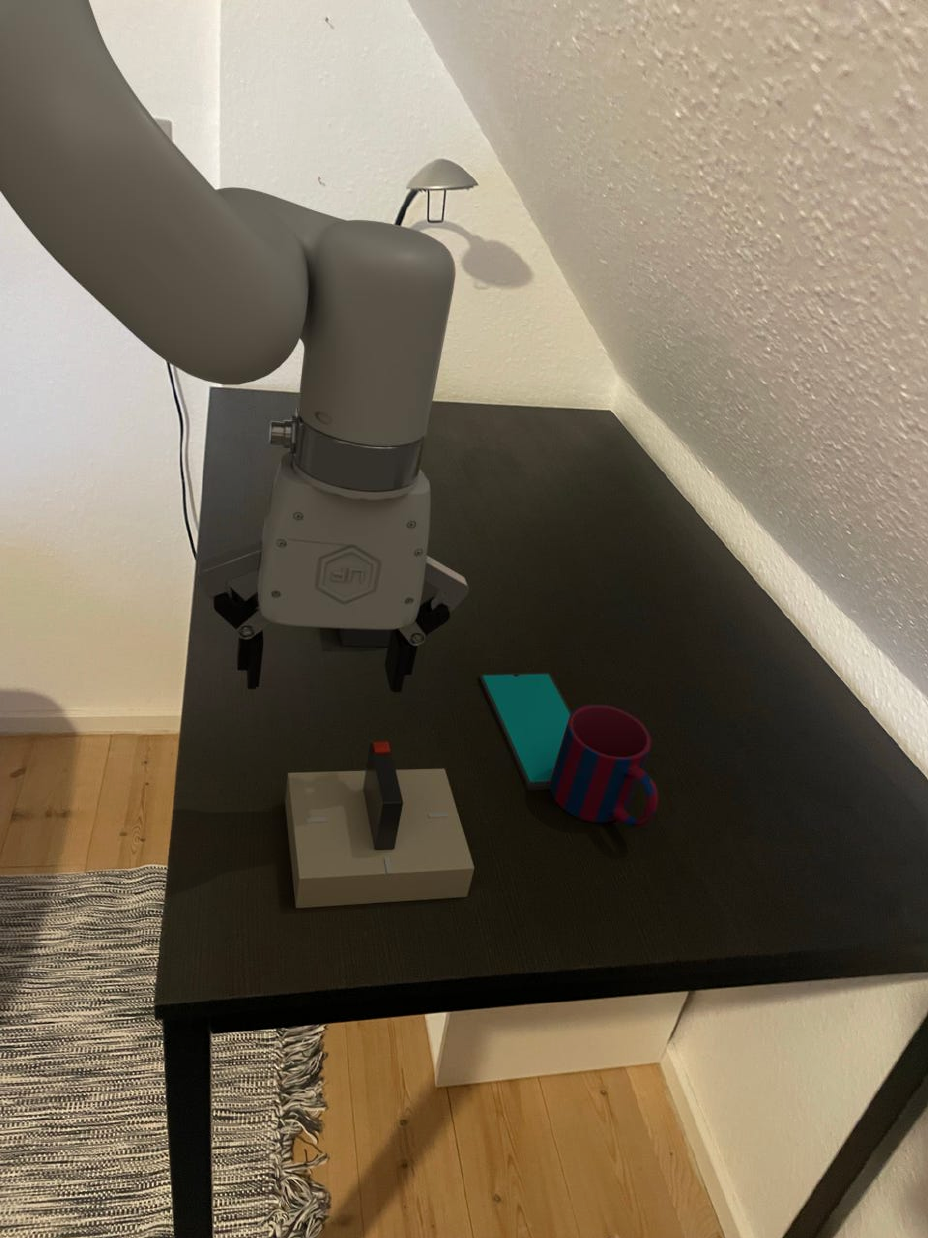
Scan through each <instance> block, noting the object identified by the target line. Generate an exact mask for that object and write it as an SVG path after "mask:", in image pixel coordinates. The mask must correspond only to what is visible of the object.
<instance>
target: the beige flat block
mask: <svg viewBox="0 0 928 1238" xmlns="http://www.w3.org/2000/svg"><path fill="white" fill-rule="evenodd" d="M365 773H366V770H344V771H343V770H342V771H341V770H340V771H309V772H308V771H307V772H305V771H304V772H303V771H302V772H288V773H287V777H286V787H285V799H284V805H285V812H286V813H285V814H286V815H285V817H286V824H287V834H288V845H289V856H290V864H291V874H292V875H291V876H292V882H293V883H292V886H293V892H294V893H293V895H294V905H295V909H306V908H308V909H309V908H321V907H335V906H336V907H338V906H351V905H366V904H367V905H368V904H382V903H395V902H397V903H398V902H409V901H410V902H411V901H425V900H427V901H428V900H440V899H441V900H442V899H453V898H455V899H456V898H457V899H458V898H467V897H468V894H469V891H470V887H471V883H472V880H473V875H474V872H475V866H474V862H473V858H472V855H471V852H470V849H469V845H468V842H467V839H466V836H465V833H464V829H463V825H462V823H461V818H460V816H459V812H458V809H457V806H456V802H455V799H454V795H453V791H452V789H451V786H450V781H449V779H448V776H447V772H446V768H413V769H396V773H397V777H398V782H399V786H400V790H401V795H402V799H403V807H402V812H401V817H400V823H399V828H398V833H397V838H396V844H395V849H390V850H375V849H374V844H373V839H372V833H371V828H370V823H369V818H368V812H367V807H366V802H365V796H364V791H363V786H364V780H365Z"/></svg>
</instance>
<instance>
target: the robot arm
mask: <svg viewBox="0 0 928 1238" xmlns="http://www.w3.org/2000/svg"><path fill="white" fill-rule="evenodd" d="M0 193H1V194H2V196H3V197H4V199H5V200H6V201H7V204H9V206H10V207H11V208H12V210H13V211H14V212H15V214H16V215H17V216H18V218H19V219H20V220H21V222H22V224H24V226H25V227H26V228H27V229H28V230H29V232H30V233H31V234H32V235H33V237H34V238H35V239H36V240H37V241H38V242H39V244H40V245H41V246H42V247H43V248H44V249H45V250H46V251H47V253H48V254H49V255H50V256H51V257H52V258H53V259H54V260H55V262H57V263H58V264H59V266H61V267H62V268H63V269H64V270H65V271H66V272H67V274H68V275H69V276H71V277H72V279H74V280H75V281H76V282H77V284H79V285H80V286H81V287H82V288H83V289H84V290H85V291H86V292H88V293H89V294H90V296H92V297H93V298H94V299H95V300H96V301H97V302H98V303H99V304H100V305H101V306H102V307H104V308H105V309H106V310H107V311H108V312H109V313H110V314H111V315H112V316H113V317H115V319H117V321H119V322H120V323H121V324H122V325H123V326H124V327H125V328H126V329H127V330H128V331H130V333H131V334H132V335H134V336H135V337H136V338H137V339H138V340H140V341H141V342H142V343H143V344H144V345H145V346H146V347H147V348H149V349H150V350H151V351H152V352H154V353H155V354H156V355H158V356H159V357H160V358H161V359H163V360H164V361H165V362H167V363H168V364H169V365H172V366H173V367H175V368H177V369H178V370H180V371H182V372H183V373H185V374H187V375H189V376H191V377H193V378H197V379H199V380H202V381H204V382H208V383H212V384H213V383H214V384H218V385H223V386H230V385H232V386H233V385H234V386H235V385H236V386H238V385H244V384H249V383H253V382H257V381H259V380H261V379H263V378H266V377H267V376H269V375H271V374H272V373H274V372H275V371H276V370H277V369H279V368H280V367H281V366H282V365H283V364H284V363H285V362H286V361H287V360H288V359H289V357H290V356H291V355H292V353H294V351H295V348H296V347H297V345H298V344H299V341H301V342H302V344H303V357H302V366H301V375H300V384H299V393H298V402H297V405H295V413H294V414H291V415H290V419H283V421H277V420H276V421H275V420H270V422H269V429H268V430H269V431H268V444H269V445H273V446H281V448H284V449H288V451H287V452H286V453H284V455H283V456H282V457H281V459H280V462H279V464H278V467H277V471H276V473H275V477H274V481H273V483H272V486H271V491H270V493H269V498H268V501H267V506H266V512H265V517H264V521H263V528H262V533H261V537H260V538H261V540H258V541H256V542H252V543H249V544H247V545H244V546H242V547H239V548H236V549H232V550H230V551H227V552H225V553H222V554H219V555H216V556H213V557H210V558H208V559H205V560H203V561H201V562H200V563H199V564H198V581H199V582H200V584H201V587H202V588H203V590H204V591H205V593H206V595H207V597H208V599H210V602H211V603H212V604H213V609H214V611H215V612H216V613H217V614H218V615H219V616H220V617H222V618H223V619H224V620H225V621H226V622H227V623H228V624H229V625H231V626H232V628H234V630H236V634H237V636H238V640H237V652H236V670H237V671H245V672H246V684H247V685H246V686H247V690H256V689H257V688H260V679H261V669H262V660H263V653H264V652H263V651H264V632H263V630H264V629H265V628H266V627H268V626H269V625H270V624H271V623H273V624H276V625H280V626H288V627H300V628H302V627H303V628H319V629H322V628H323V629H339V628H341V629H367V630H391V634H390V640H389V645H388V647H387V651H386V655H385V661H384V662H385V663H384V670H385V674H386V678H387V683H388V686H389V690H390V691H392V693H402V690H403V687H404V686H403V685H404V682H405V676H411V675H412V674H413V669H414V665H415V660H416V656H417V650H418V646H421V645H423V644H424V643H425V642H426V640H427V636H428V635H429V634H431V633H433V632H434V631H435V630H437V629H438V628H440V627H441V626H443V625H445V624H446V623H447V622H448V621H449V620H450V618H451V614H452V612H454V611H455V610H457V608H458V607H459V606H460V605H461V604H462V602H464V600H465V599H466V598H467V597H468V595H470V588H469V587H470V586H469V584H468V581H467V580H466V578H465V577H464V576H463V575H462V574H459V573H458V572H456V571H455V570H453V569H451V568H449V567H447V566H446V565H444V564H442V563H441V562H439V561H437V560H435V559H434V558H432V557H430V556H428V550H429V549H428V548H429V541H430V540H429V538H430V528H431V527H430V525H431V502H432V501H431V483H430V481H429V479H428V478H427V476H426V474H425V473H424V472H423V470H422V469H420V468H421V464H422V458H423V452H424V448H425V442H426V438H427V437H426V436H427V431H428V427H429V420H430V415H431V412H432V411H431V410H432V406H433V400H434V395H435V390H436V384H437V380H438V374H439V368H440V363H441V358H442V353H443V349H444V348H443V347H444V342H445V336H446V332H447V327H448V321H449V318H450V317H449V315H450V312H451V306H452V301H453V296H454V295H453V294H454V289H455V281H456V277H457V276H456V273H457V272H456V264H455V260H454V258H453V254H452V252H451V251H450V249H449V248H447V246H446V245H445V244H444V243H442V242H441V241H440V240H438V239H436V238H435V237H433V236H431V235H429V234H427V233H425V232H423V231H422V232H421V231H419V230H417V229H413V228H410V227H406V226H403V225H399V224H393V223H389V222H383V221H377V220H367V219H348V220H346V219H343V218H340V217H336V216H333V215H330V214H328V213H324V212H320V211H318V210H315V209H311V208H309V207H306V206H303V205H300V204H297V203H294V202H292V201H289V200H286V199H284V198H281V197H279V196H275V195H273V194H270V193H267V192H263V191H260V190H256V189H251V188H247V187H238V186H237V187H235V186H233V187H232V186H229V187H222V188H217V189H215V187H214V186H213V185H212V184H211V183H210V182H209V181H208V180H207V178H206V177H205V176H204V175H203V174H202V173H201V172H200V171H199V170H198V169H197V167H196V166H195V165H194V164H193V163H192V162H191V161H190V160H189V159H188V158H187V156H186V155H185V154H184V153H183V152H182V151H181V150H180V148H179V147H178V146H177V145H176V144H175V143H174V142H173V141H172V140H171V138H170V137H169V135H168V134H167V133H166V132H165V131H164V129H162V127H161V126H160V125H159V124H158V123H157V121H156V120H155V118H154V117H153V116H152V115H151V113H150V112H149V110H148V109H147V108H146V106H144V104H143V103H142V101H141V100H140V98H139V97H138V96H137V94H136V93H135V91H134V90H133V89H132V87H131V86H130V84H129V83H128V81H127V80H126V78H125V77H124V75H123V73H122V71H121V70H120V68H119V67H118V65H117V63H116V62H115V60H114V58H113V56H112V54H111V52H110V50H109V48H108V47H107V45H106V42H105V40H104V38H103V35H102V34H101V31H100V28H99V25H98V22H97V20H96V16H95V14H94V12H93V8H92V5H91V2H90V0H0ZM256 571H257V587H256V588H255V589H253V590H252V591H251V592H250V593H248V594H247V595H246V596H245V597H244V598H243V597H242V596H241V595H240V594H239V593H238V592H237V591H235V589H233V587H232V586H230V585H229V583H228V582H229V581H230V580H233V579H236V578H239V577H242V576H244V575H247V574H250V573H253V572H256ZM424 583H426V584H428V585H430V586H431V587H433V588H435V589H436V590H438V591H437V592H436V593H437V594H436V595H434V596H432V597H431V598H429V599H428V600H426V601H424V602H423V603H422V597H423V592H424V591H423V590H424ZM421 603H422V604H421Z"/></svg>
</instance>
